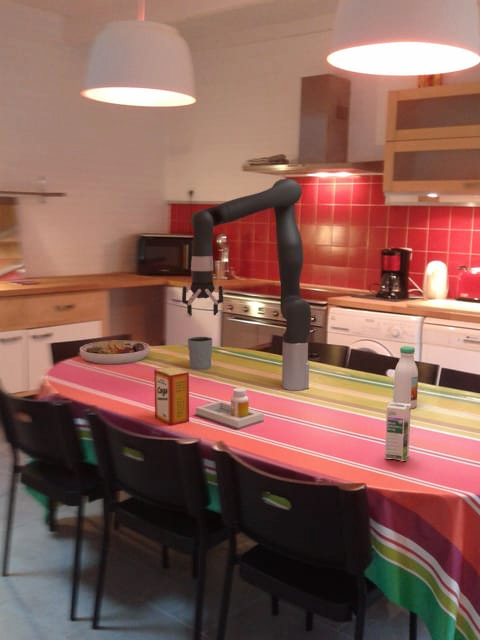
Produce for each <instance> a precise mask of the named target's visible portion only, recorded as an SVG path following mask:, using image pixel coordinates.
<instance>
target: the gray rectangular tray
mask: <svg viewBox="0 0 480 640" xmlns="http://www.w3.org/2000/svg"><path fill="white" fill-rule="evenodd" d="M248 412H249V416H246V417H243V418H238V417H235V416H231V402H227V401H224V400H219V401H215V402H211V403H208V404H203V405H199V406H196V407H195V416H197V417H200V418H203V419H206V420H207V421H211V422H215V423H218V424H220V425H224V426H226V427H229V428H232V429H235V430H241V429H244V428H247V427H251V426H253V425H257V424H259V423H260V424H261V423H263V422H264V412H260V411H257V410H254V409H250V408H249V411H248Z"/></svg>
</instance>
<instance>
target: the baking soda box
mask: <svg viewBox="0 0 480 640" xmlns="http://www.w3.org/2000/svg"><path fill="white" fill-rule="evenodd" d="M153 374H154V375H153V376H154V378H153V379H154V380H153V381H154V419H156V420H158V421H160V422H162V423H164V424H165V425H169V426H170V427H171V426H177V425H180V424H184V423H185V424H186V423H189V422H190V384H189V383H190V378H189V376H190V372H188V371H186V370H183V369H181V368H178V367H174V366H169V367H162V368H156V369H154V373H153Z"/></svg>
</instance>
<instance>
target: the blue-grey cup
mask: <svg viewBox="0 0 480 640" xmlns="http://www.w3.org/2000/svg"><path fill="white" fill-rule="evenodd" d="M187 347H188V351H189V353H188V355H189V365H190V366H189V367H190V369H192V370H196V371H197V370H198V371H200V370H201V371H205V370H208V369H211V367H212V357H213V356H212V355H213V354H212V353H213V352H212V349H213V338H212V337H210V336H193V337H189V338H187Z"/></svg>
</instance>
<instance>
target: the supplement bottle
mask: <svg viewBox="0 0 480 640" xmlns="http://www.w3.org/2000/svg"><path fill="white" fill-rule="evenodd" d="M232 394H233V395H232V396H231V397H230V398H231V400H230V403H231V416H235V417H238V418H243V417H246V416H249V412H248V411H249V409H250V408H249V396H247V389H246V388H242V387H237V388H233V391H232Z"/></svg>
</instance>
